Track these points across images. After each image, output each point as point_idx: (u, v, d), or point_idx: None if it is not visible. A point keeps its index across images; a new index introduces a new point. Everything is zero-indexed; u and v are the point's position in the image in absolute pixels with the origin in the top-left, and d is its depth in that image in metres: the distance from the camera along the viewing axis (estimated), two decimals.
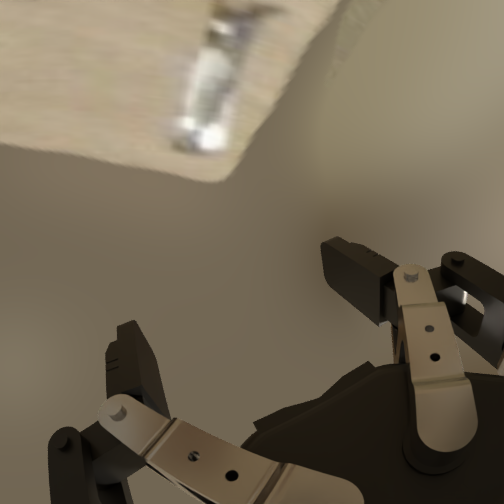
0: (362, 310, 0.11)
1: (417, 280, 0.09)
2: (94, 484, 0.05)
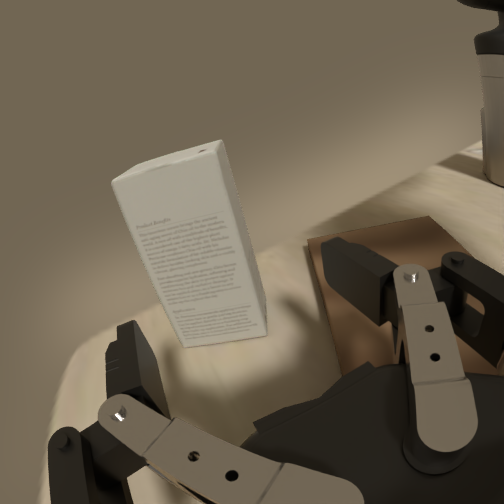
0: (362, 310, 0.11)
1: (417, 280, 0.09)
2: (94, 484, 0.05)
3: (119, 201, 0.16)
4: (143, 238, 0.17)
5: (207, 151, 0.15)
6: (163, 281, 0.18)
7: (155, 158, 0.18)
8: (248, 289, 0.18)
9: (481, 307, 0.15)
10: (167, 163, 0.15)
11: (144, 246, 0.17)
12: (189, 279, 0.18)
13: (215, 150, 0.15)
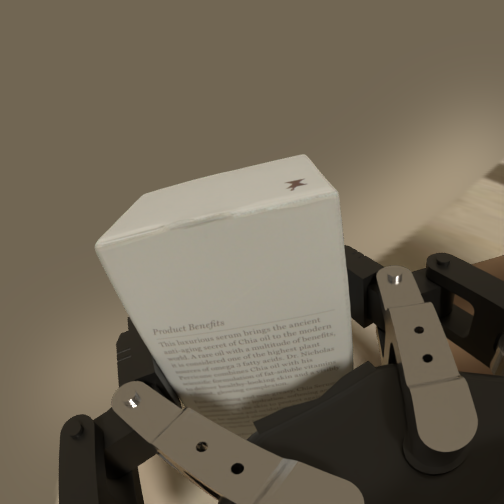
0: None
1: (400, 282, 0.09)
2: (104, 473, 0.06)
3: (114, 284, 0.08)
4: (168, 349, 0.09)
5: (315, 189, 0.07)
6: (205, 405, 0.10)
7: (179, 184, 0.10)
8: None
9: None
10: (222, 212, 0.07)
11: (170, 360, 0.09)
12: (250, 403, 0.10)
13: (333, 188, 0.07)
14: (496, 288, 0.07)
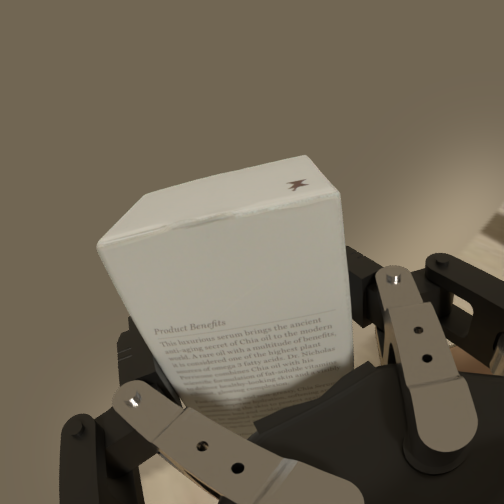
0: None
1: (399, 282, 0.09)
2: (105, 473, 0.06)
3: (116, 284, 0.08)
4: (169, 349, 0.09)
5: (317, 189, 0.07)
6: (206, 405, 0.10)
7: (180, 184, 0.10)
8: None
9: None
10: (224, 212, 0.07)
11: (171, 360, 0.09)
12: (251, 403, 0.10)
13: (335, 188, 0.07)
14: (496, 288, 0.07)
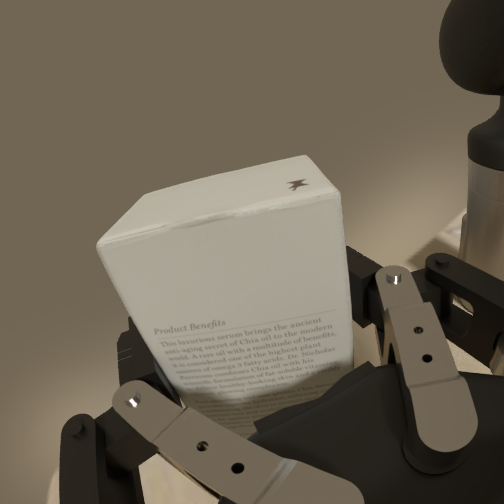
0: None
1: (399, 282, 0.09)
2: (105, 473, 0.06)
3: (116, 284, 0.08)
4: (169, 349, 0.09)
5: (317, 189, 0.07)
6: (206, 405, 0.10)
7: (180, 184, 0.10)
8: None
9: None
10: (224, 212, 0.07)
11: (171, 360, 0.09)
12: (251, 403, 0.10)
13: (335, 188, 0.07)
14: (496, 288, 0.07)
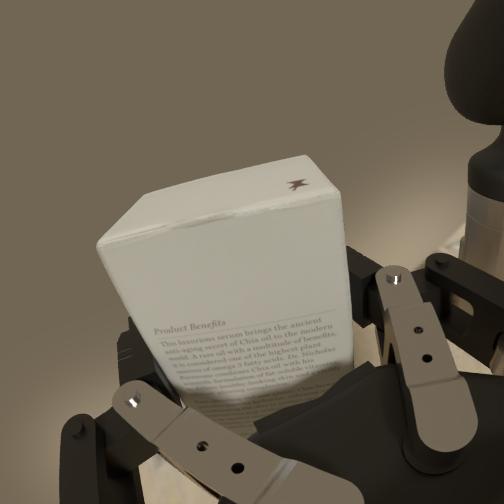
0: None
1: (399, 282, 0.09)
2: (105, 473, 0.06)
3: (116, 284, 0.08)
4: (169, 349, 0.09)
5: (317, 189, 0.07)
6: (206, 405, 0.10)
7: (180, 184, 0.10)
8: None
9: None
10: (224, 212, 0.07)
11: (171, 360, 0.09)
12: (251, 403, 0.10)
13: (335, 188, 0.07)
14: (496, 287, 0.07)
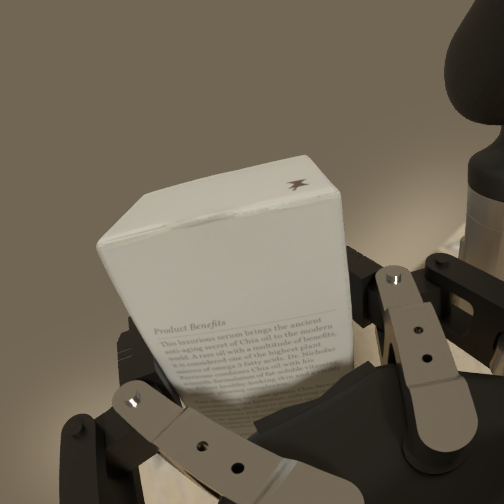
0: None
1: (399, 282, 0.09)
2: (105, 473, 0.06)
3: (116, 284, 0.08)
4: (169, 349, 0.09)
5: (317, 189, 0.07)
6: (206, 405, 0.10)
7: (180, 184, 0.10)
8: None
9: None
10: (224, 212, 0.07)
11: (171, 360, 0.09)
12: (251, 403, 0.10)
13: (335, 188, 0.07)
14: (496, 287, 0.07)
